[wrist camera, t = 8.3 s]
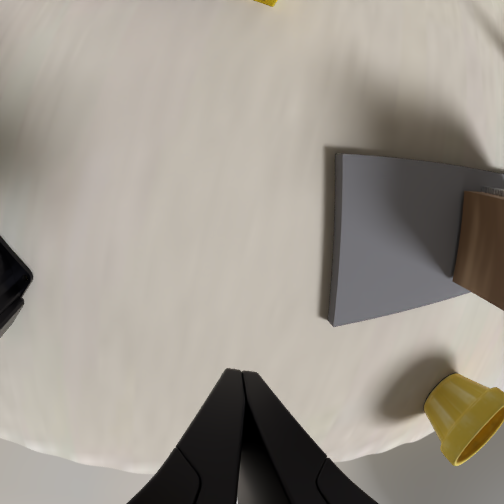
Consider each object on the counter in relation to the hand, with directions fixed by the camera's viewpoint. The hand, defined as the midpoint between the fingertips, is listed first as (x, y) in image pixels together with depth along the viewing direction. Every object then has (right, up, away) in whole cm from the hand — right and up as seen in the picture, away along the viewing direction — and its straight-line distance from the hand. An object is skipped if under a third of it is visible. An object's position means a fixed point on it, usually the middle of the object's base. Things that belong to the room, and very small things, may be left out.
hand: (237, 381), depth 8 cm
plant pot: (+25, -15, +23) cm, 37 cm away
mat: (+19, +5, +15) cm, 24 cm away
